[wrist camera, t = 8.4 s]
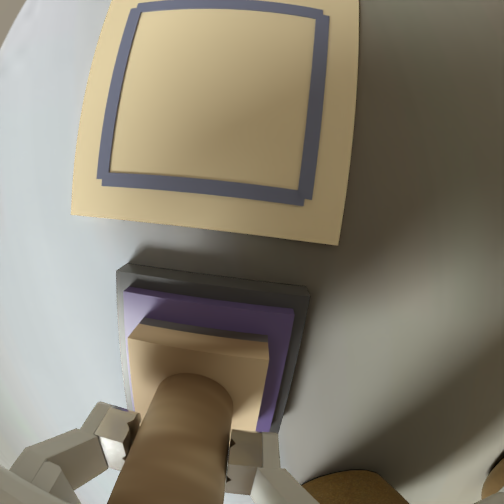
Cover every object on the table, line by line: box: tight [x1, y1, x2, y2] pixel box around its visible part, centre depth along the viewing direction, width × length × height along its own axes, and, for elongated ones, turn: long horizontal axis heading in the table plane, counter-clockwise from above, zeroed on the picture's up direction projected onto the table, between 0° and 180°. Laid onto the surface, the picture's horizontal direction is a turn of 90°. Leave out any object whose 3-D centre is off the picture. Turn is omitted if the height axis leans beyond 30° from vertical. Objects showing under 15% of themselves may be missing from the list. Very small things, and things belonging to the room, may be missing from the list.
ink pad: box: [116, 263, 310, 434], centre depth 13 cm, size 8×8×2 cm
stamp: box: [107, 317, 269, 504], centre depth 8 cm, size 5×5×9 cm
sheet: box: [71, 0, 359, 246], centre depth 11 cm, size 12×12×1 cm
